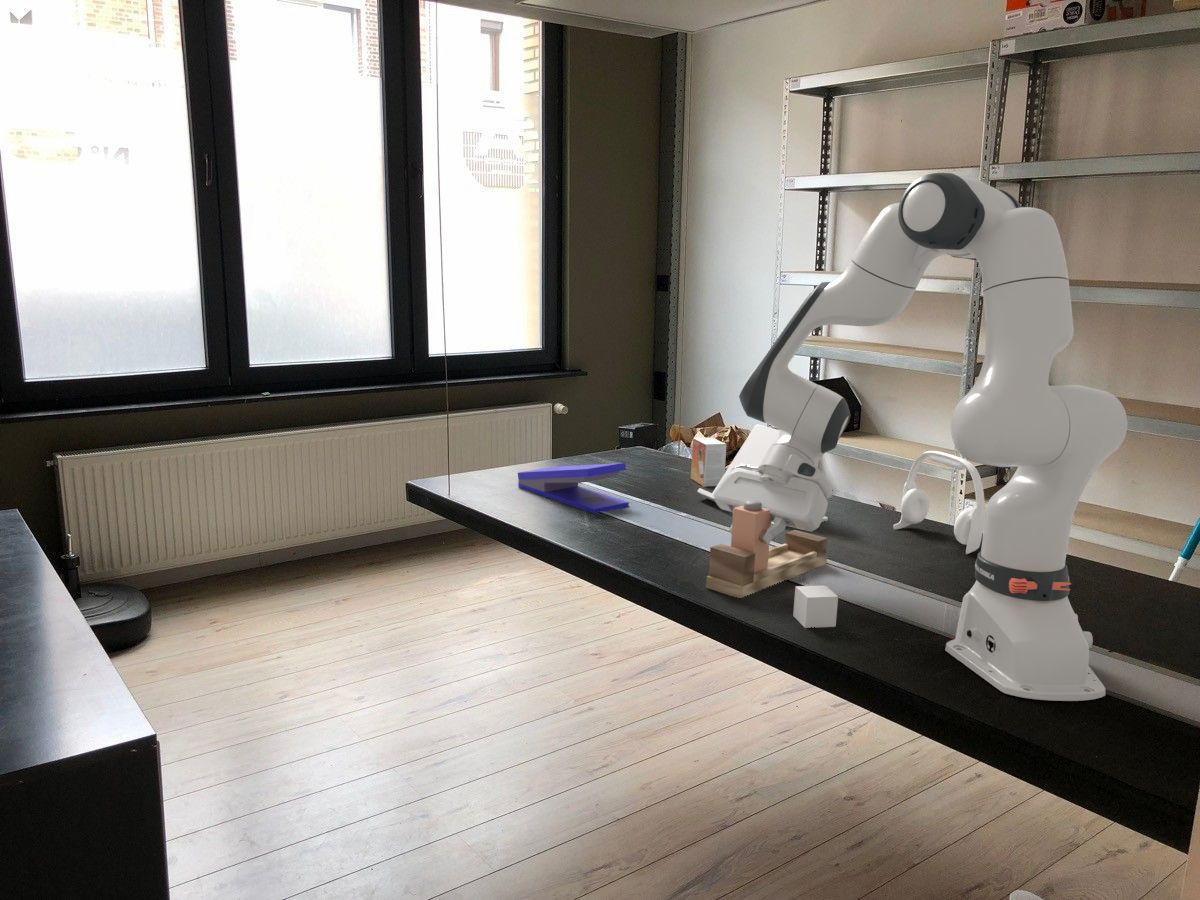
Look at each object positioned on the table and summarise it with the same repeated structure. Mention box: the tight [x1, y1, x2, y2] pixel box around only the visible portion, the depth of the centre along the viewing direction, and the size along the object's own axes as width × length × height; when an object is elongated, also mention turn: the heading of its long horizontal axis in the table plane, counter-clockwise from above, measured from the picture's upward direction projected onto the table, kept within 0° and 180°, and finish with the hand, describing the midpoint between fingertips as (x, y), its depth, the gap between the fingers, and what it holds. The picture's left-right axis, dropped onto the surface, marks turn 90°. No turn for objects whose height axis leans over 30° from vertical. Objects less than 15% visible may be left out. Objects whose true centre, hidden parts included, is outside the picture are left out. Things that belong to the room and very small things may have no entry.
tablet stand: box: [697, 423, 829, 527], centre depth 213 cm, size 18×25×17 cm
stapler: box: [517, 462, 630, 514], centre depth 220 cm, size 12×28×10 cm, turn 41°
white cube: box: [792, 584, 839, 629], centre depth 150 cm, size 5×5×5 cm
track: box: [705, 529, 828, 599], centre depth 171 cm, size 27×7×7 cm, turn 136°
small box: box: [690, 437, 727, 488], centre depth 237 cm, size 8×6×10 cm
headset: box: [892, 450, 987, 555], centre depth 194 cm, size 20×7×18 cm, turn 25°
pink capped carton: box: [730, 501, 771, 574], centre depth 165 cm, size 5×5×12 cm
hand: (748, 537), depth 165 cm, fingers closed on pink capped carton, 4 cm apart
